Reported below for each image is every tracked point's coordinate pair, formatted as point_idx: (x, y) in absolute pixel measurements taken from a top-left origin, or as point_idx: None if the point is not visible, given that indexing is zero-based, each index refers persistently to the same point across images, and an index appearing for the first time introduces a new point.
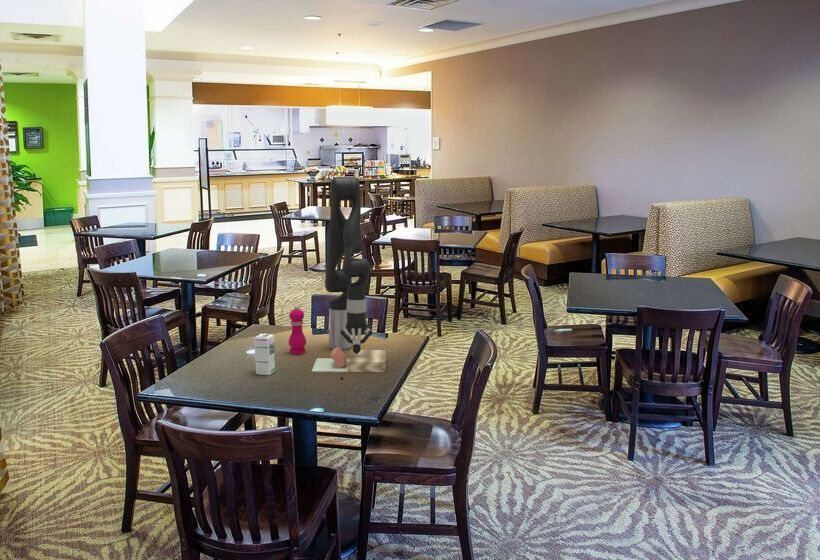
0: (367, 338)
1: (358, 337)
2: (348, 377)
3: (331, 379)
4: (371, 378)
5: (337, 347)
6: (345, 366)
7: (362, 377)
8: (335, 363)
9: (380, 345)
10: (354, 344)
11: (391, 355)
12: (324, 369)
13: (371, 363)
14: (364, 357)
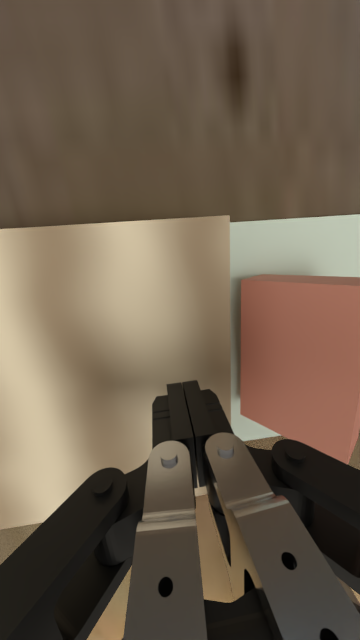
0: (7, 565)
1: (179, 547)
2: (192, 100)
3: (306, 42)
4: (12, 77)
5: (351, 434)
6: (235, 313)
7: (89, 104)
8: None
9: (113, 619)
10: (219, 436)
11: (22, 527)
12: (352, 245)
13: (19, 228)
14: (112, 352)
